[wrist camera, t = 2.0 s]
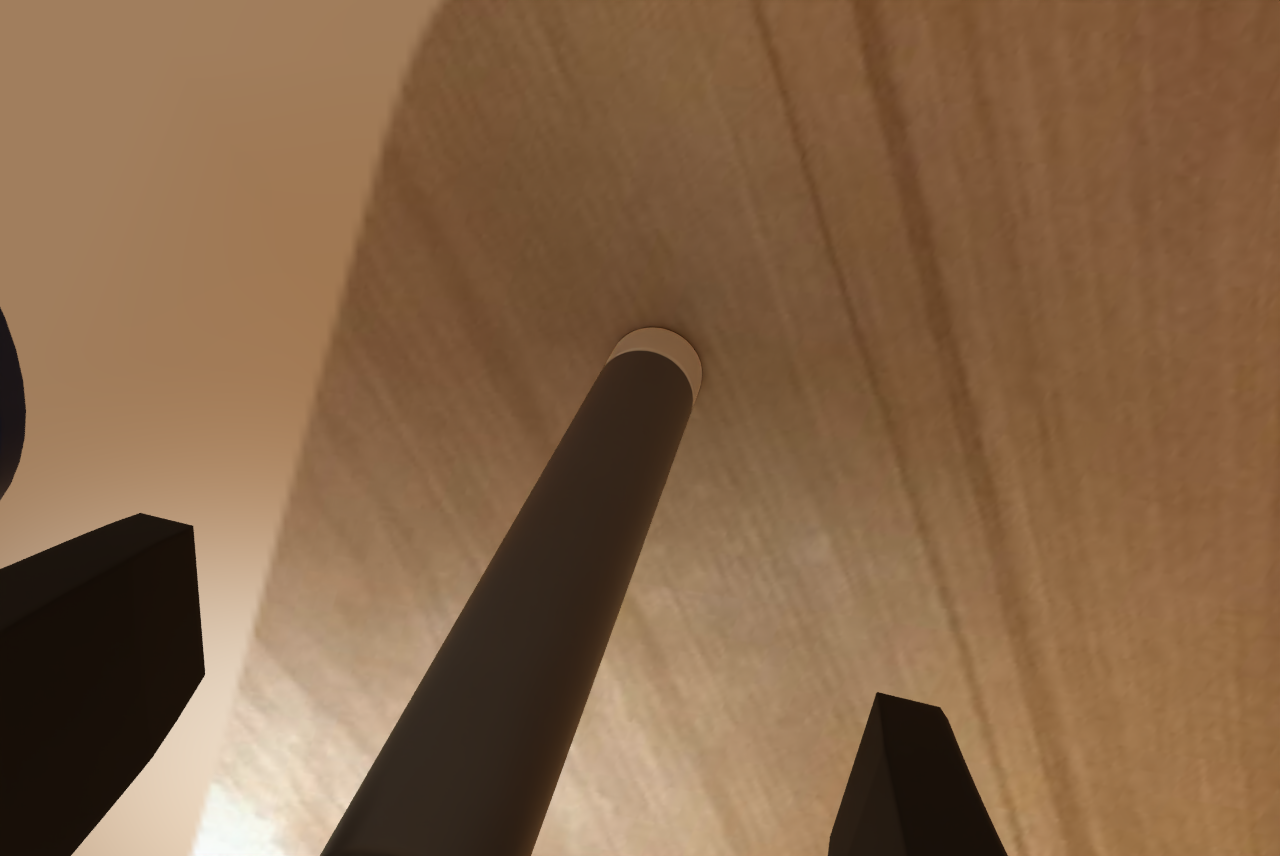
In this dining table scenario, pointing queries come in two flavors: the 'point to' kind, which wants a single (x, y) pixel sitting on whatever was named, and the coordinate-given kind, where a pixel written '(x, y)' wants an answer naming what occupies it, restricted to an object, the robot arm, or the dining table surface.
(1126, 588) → the dining table surface
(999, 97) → the dining table surface
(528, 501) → the dark brown rod
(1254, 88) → the dining table surface
